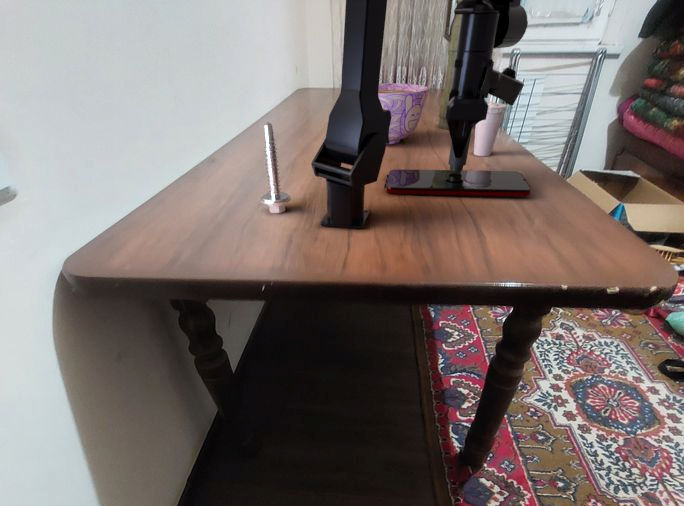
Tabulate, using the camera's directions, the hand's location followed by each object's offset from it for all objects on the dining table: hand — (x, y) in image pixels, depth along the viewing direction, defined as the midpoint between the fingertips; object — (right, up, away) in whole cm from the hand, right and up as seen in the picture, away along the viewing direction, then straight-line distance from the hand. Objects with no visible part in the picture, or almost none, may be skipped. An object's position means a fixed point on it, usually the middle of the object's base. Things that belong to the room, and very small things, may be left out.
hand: (458, 155), depth 75 cm
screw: (-32, -13, -8) cm, 36 cm away
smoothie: (+11, +8, +17) cm, 22 cm away
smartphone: (-1, -6, 0) cm, 6 cm away
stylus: (0, -2, +2) cm, 3 cm away
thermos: (+11, +28, +42) cm, 52 cm away
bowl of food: (-10, +18, +30) cm, 36 cm away
